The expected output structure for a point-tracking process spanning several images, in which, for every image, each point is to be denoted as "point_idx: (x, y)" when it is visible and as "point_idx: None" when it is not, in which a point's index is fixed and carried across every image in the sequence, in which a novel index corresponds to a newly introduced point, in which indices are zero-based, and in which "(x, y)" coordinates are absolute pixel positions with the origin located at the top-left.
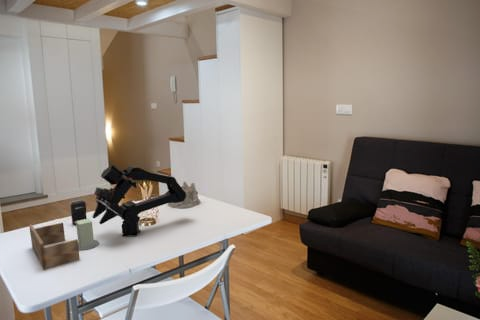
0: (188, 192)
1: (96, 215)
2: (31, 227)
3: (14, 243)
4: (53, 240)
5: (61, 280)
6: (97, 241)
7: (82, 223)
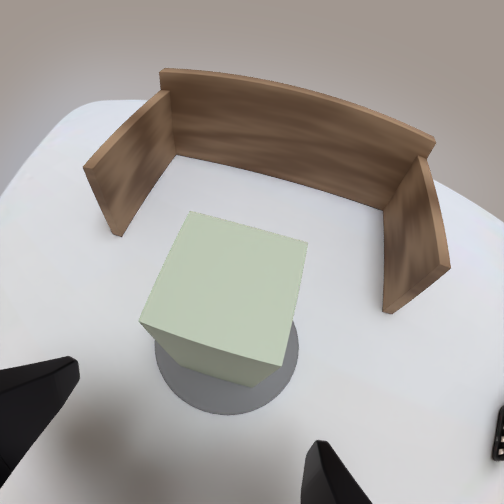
0: None
1: (308, 484)
2: (394, 119)
3: (450, 204)
4: (390, 259)
5: (74, 152)
6: (205, 404)
7: (184, 239)
